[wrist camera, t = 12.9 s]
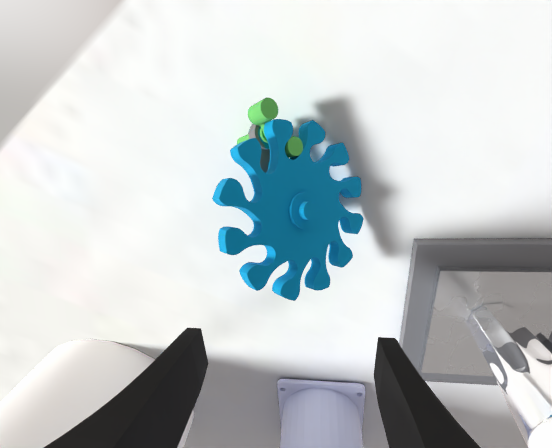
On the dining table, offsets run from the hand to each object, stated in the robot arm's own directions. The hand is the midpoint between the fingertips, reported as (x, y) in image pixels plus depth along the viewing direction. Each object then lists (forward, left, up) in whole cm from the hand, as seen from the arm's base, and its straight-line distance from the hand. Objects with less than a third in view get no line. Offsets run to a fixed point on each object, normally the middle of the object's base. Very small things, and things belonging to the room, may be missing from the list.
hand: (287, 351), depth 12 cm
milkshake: (-6, -13, -9) cm, 17 cm away
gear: (+4, 0, -11) cm, 11 cm away
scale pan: (-7, -13, -10) cm, 18 cm away
